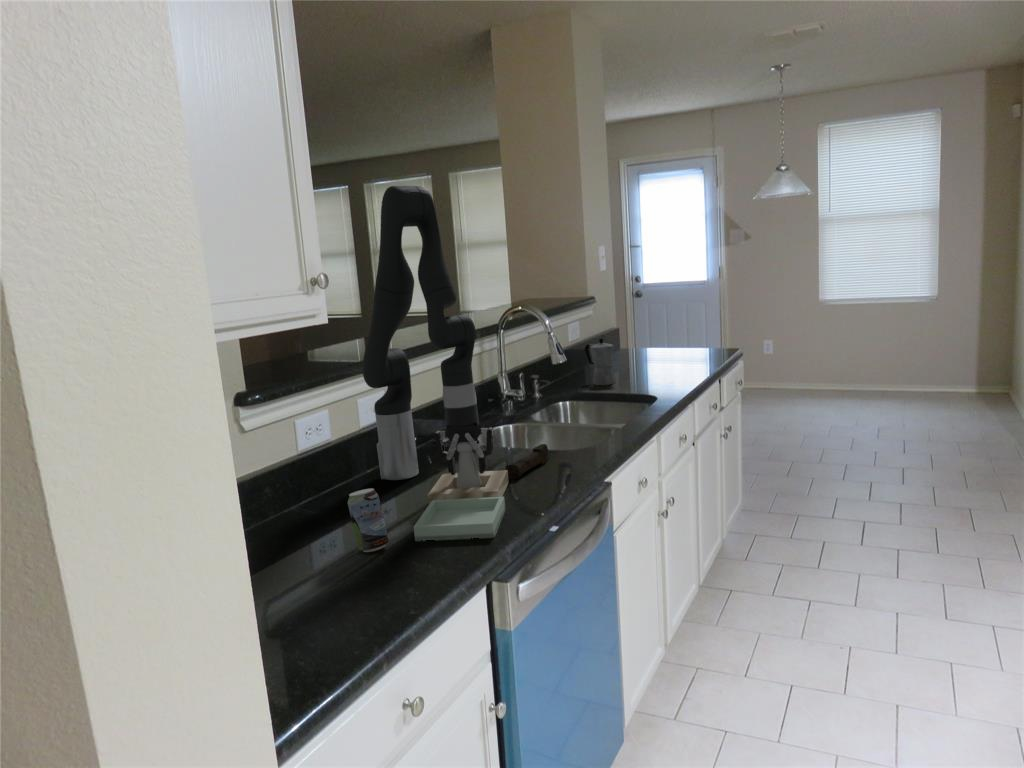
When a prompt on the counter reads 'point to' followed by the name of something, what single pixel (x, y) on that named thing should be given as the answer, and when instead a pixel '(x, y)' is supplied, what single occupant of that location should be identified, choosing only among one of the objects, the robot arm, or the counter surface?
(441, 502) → the parts tray
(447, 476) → the holder
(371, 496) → the beverage can
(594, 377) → the coffeepot
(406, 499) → the counter surface
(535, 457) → the hand tool
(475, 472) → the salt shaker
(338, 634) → the counter surface
